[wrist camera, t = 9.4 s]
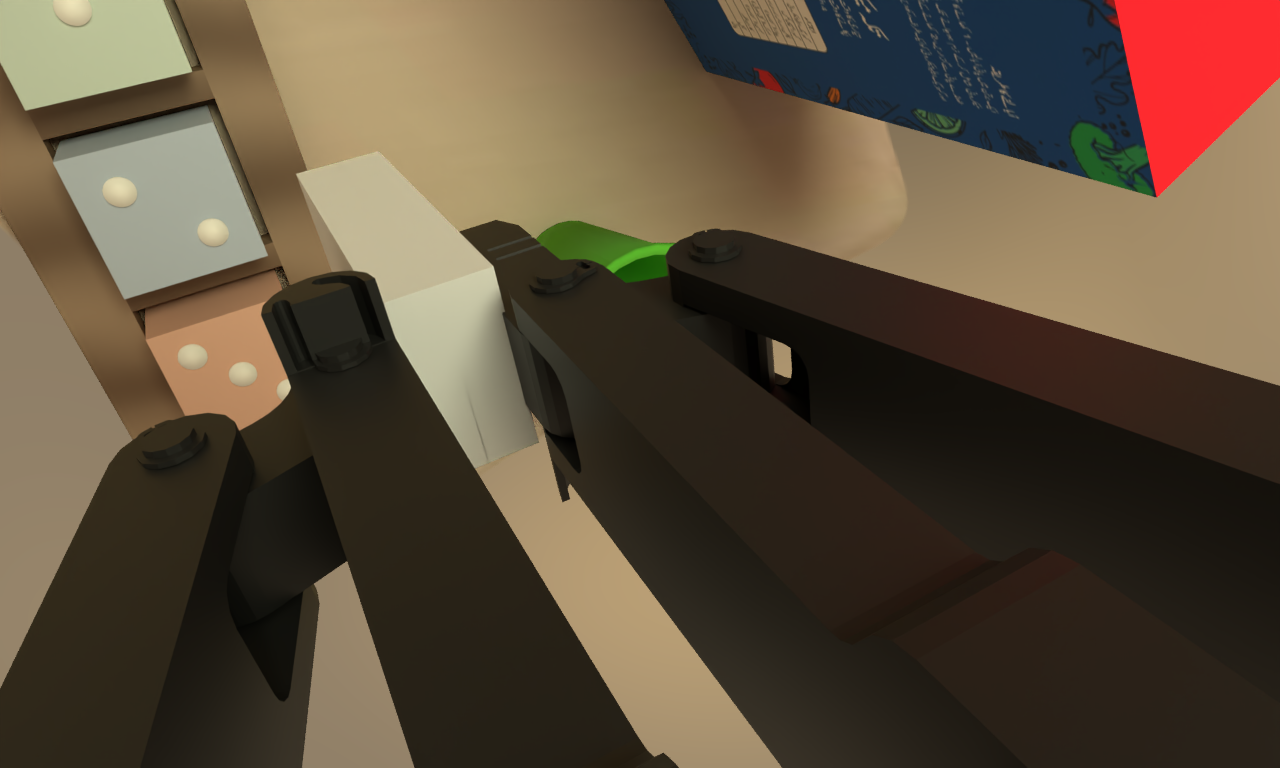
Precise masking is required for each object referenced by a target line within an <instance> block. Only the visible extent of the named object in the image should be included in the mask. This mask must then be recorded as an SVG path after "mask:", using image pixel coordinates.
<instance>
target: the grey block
mask: <svg viewBox="0 0 1280 768" xmlns="http://www.w3.org/2000/svg"><path fill="white" fill-rule="evenodd" d="M53 164H54V166H55V168H56V170H57V172H58V174H59V176H60V177H61V179H62V181H63V183H64V185H65V187H66V189H67V191H68V193H69V195H70V197H71V198H72V200H73V202H74V204H75V206H76V208H77V210H78V212H79V214H80V216H81V218H82V219H83V221H84V223H85V225H86V227H87V229H88V231H89V233H90V235H91V237H92V239H93V240H94V242H95V244H96V246H97V248H98V250H99V252H100V254H101V256H102V258H103V260H104V261H105V263H106V265H107V267H108V269H109V271H110V273H111V275H112V277H113V279H114V281H115V282H116V284H117V286H118V288H119V290H120V292H121V294H122V296H123V298H124V299H128V298H131V297H134V296H138V295H141V294H144V293H147V292H151V291H154V290H157V289H161V288H164V287H167V286H170V285H174V284H177V283H180V282H184V281H187V280H190V279H193V278H197V277H200V276H203V275H207V274H210V273H213V272H216V271H220V270H223V269H226V268H230V267H233V266H236V265H239V264H243V263H246V262H249V261H252V260H256V259H259V258H262V257H266V256H268V254H267V252H266V249H265V246H264V244H263V241H262V238H261V236H260V233H259V230H258V228H257V225H256V223H255V220H254V218H253V216H252V213H251V211H250V208H249V206H248V203H247V201H246V199H245V196H244V194H243V191H242V189H241V186H240V184H239V182H238V179H237V177H236V174H235V172H234V169H233V167H232V164H231V162H230V160H229V157H228V155H227V152H226V150H225V147H224V145H223V143H222V140H221V138H220V135H219V133H218V130H217V128H216V125H215V123H214V121H213V118H212V116H211V113H210V111H209V108H208V106H207V105H205V106H201V107H197V108H193V109H189V110H185V111H181V112H177V113H173V114H168V115H164V116H160V117H156V118H152V119H148V120H144V121H140V122H136V123H132V124H128V125H124V126H120V127H115V128H111V129H107V130H103V131H99V132H95V133H91V134H87V135H83V136H79V137H75V138H71V139H66V140H62V141H60V143H59V145H58V148H57V151H56V154H55V157H54V160H53Z"/></svg>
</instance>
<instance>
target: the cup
mask: <svg viewBox="0 0 1280 768" xmlns="http://www.w3.org/2000/svg"><path fill="white" fill-rule="evenodd" d="M537 241H538V242H539V243H541V246H544V247H545V248H547V249H548V250H549V251H550V252H551V253H553V254H554V255H555V256H556V257H557V258H559V259H560V260H569V259H587V260H592V261H594V262H597V263H599V264H601V265H603V266H605V267H606V268H607V269H609V270H610V271H611V272H613V273H614V274H615V275H616V276H618V277H619V278H620V279H622V280H623V281H624V282H626V283H629V282H636V281H642V280H648V279H653V278H659V277H664V276H668V272H667V265H666V258H665V255H666V253H667V252H668V250H669V248H670V247H671V246H673V245H674V244H675V243H651V242H647V241H644V240H641V239H637V238H634V237H631V236H627V235H624V234H621V233H617V232H614V231H611V230H607V229H604V228H601V227H598V226H594V225H591V224H587V223H584V222H581V221H567V222H563V223H558V224H556V225H554V226H552V227H551V228H549V229H547V230H546V231H544V232H543V233H542V234H541V235H540V236H539V237H538V238H537Z"/></svg>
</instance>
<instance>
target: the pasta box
mask: <svg viewBox="0 0 1280 768" xmlns="http://www.w3.org/2000/svg"><path fill="white" fill-rule="evenodd" d="M664 1H665V3H666V4H667V6H668V8H669V9H670V11H671V13H672V14H673V16H674V18H675V19H676V21H677V23H678V25H679V26H680V28H681V30H682V31H683V33H684V35H685V36H686V38H687V40H688V41H689V43H690V45H691V47H692V48H693V50H694V52H695V53H696V55H697V57H698V58H699V60H700V62H701V63H702V65H703V67H704V69H705V70H706V72H710V73H714V74H717V75H721V76H724V77H728V78H731V79H735V80H739V81H742V82H746V83H749V84H753V85H756V86H760V87H764V88H767V89H771V90H774V91H778V92H781V93H785V94H789V95H792V96H796V97H799V98H803V99H807V100H810V101H814V102H817V103H821V104H824V105H828V106H832V107H835V108H839V109H842V110H846V111H849V112H853V113H857V114H860V115H864V116H867V117H871V118H874V119H878V120H882V121H885V122H889V123H892V124H896V125H899V126H903V127H907V128H910V129H914V130H918V131H921V132H924V133H928V134H932V135H935V136H939V137H942V138H946V139H950V140H954V141H957V142H960V143H964V144H967V145H971V146H975V147H978V148H982V149H986V150H989V151H992V152H996V153H1000V154H1004V155H1007V156H1011V157H1014V158H1017V159H1021V160H1025V161H1028V162H1032V163H1036V164H1039V165H1043V166H1046V167H1050V168H1053V169H1057V170H1061V171H1064V172H1068V173H1071V174H1075V175H1078V176H1082V177H1086V178H1089V179H1093V180H1097V181H1100V182H1104V183H1107V184H1111V185H1114V186H1118V187H1121V188H1125V189H1128V190H1132V191H1136V192H1139V193H1143V194H1146V195H1150V196H1153V197H1158V196H1159V195H1160V194H1161V193H1162V192H1163V191H1164V190H1165V189H1166V188H1167V187H1168V186H1169V185H1170V184H1171V183H1172V182H1173V181H1174V180H1175V179H1176V178H1177V177H1178V176H1179V175H1180V174H1181V173H1182V172H1184V171H1185V170H1186V169H1187V167H1189V166H1190V164H1192V163H1193V162H1194V161H1195V160H1196V159H1197V158H1198V157H1199V156H1200V155H1201V154H1202V153H1203V152H1204V151H1205V150H1206V149H1207V148H1208V147H1209V146H1210V145H1211V144H1212V143H1213V142H1214V141H1215V140H1216V139H1217V138H1218V137H1219V136H1220V135H1221V134H1222V133H1223V132H1224V131H1225V130H1226V129H1227V128H1229V127H1230V125H1232V124H1233V122H1235V121H1236V120H1237V119H1238V118H1239V117H1240V116H1241V115H1242V114H1243V113H1244V112H1245V111H1246V110H1247V109H1248V108H1249V107H1250V106H1251V105H1252V104H1253V103H1254V102H1255V101H1256V100H1257V99H1258V98H1259V97H1260V96H1261V95H1262V94H1263V93H1264V92H1265V91H1266V90H1267V89H1268V88H1269V87H1270V86H1271V85H1272V84H1273V83H1274V82H1276V80H1278V79H1279V78H1280V0H664Z"/></svg>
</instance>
